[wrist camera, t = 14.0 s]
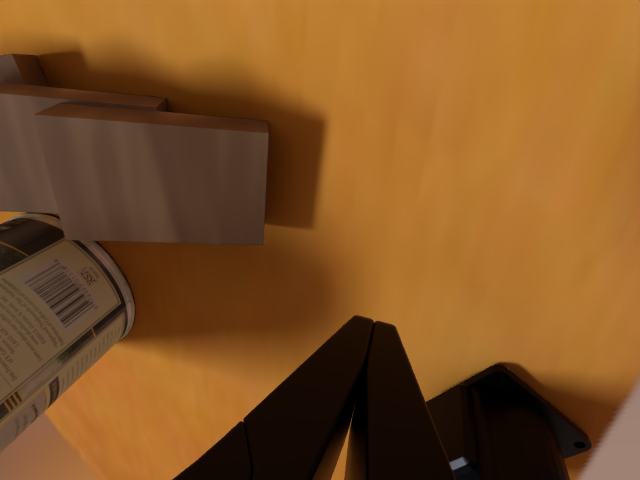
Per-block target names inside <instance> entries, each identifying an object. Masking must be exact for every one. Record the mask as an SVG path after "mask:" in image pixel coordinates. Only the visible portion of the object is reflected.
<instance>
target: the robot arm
mask: <svg viewBox="0 0 640 480" xmlns="http://www.w3.org/2000/svg"><path fill="white" fill-rule="evenodd" d="M373 325H374V326H373ZM496 375H502V376H500V377H499V376H496ZM353 411H354V412H353ZM352 415H353V416H352ZM351 419H352V421H351ZM350 423H351V426H350ZM349 426H350V432H349V440H348V449H347V459H346V469H345V478H344V480H570V478H569V474H568V471H567V468H566V464H565V461H564V459H565V458H568V457H571V456H573V455H576V454H579V453H582V452H585V451H587V450H589V449H590V448H591V442H590V439H589V437H588V435H587V434H586V433H584V432H583V431H582V430H581V429H580V428H578V427H577V426H576V425H575V424H574V423H572V422H571V421H570V420H569V419H568V418H566V417H565V416H564V415H563V414H562V413H560V412H559V411H558V410H557V409H556V408H554V407H553V406H552V405H551V404H549V403H548V402H547V401H546V400H545V399H543V398H542V397H541V396H540V395H539V394H537V393H536V392H535V391H534V390H533V389H531V388H530V387H529V386H528V385H527V384H525V383H524V382H523V381H522V380H521V379H519V378H518V377H517V376H516V375H514V374H513V373H512V372H511V371H510V370H508V369H507V368H506V367H504V366H501V365H494V366H491V367H489V368H487V369H486V370H484V371H482V372H480V373H478V374H477V375H475V376H473V377H471V378H469V379H468V380H466V381H464V382H462V383H460V384H459V385H457V386H455V387H453V388H451V389H449V390H448V391H446V392H444V393H442V394H440V395H439V396H437V397H435V398H433V399H431V400H430V401H428V402H425V400H424V397H423V395H422V392H421V390H420V387H419V385H418V382H417V379H416V377H415V374H414V372H413V369H412V367H411V364H410V362H409V359H408V357H407V354H406V352H405V349H404V347H403V344H402V342H401V339H400V337H399V334H398V332H397V329H396V327H395V326H394V325H392V324H388V323H384V322H381V321H376V322H375V323H374V321H373V320H372V319H370V318H366V317H362V316H358V315H355V316H353V317H352V318H351V319H350V320H349V321H348V322H347V323H345V324H344V325H343V326H342V327H341V328H340V329H339V330H338V331H337V332H336V333H335V334H334V335H333V336H332V337H330V338H329V339H328V340H327V341H326V342H325V343H324V344H323V345H322V346H321V347H320V348H319V349H318V350H317V351H315V352H314V353H313V354H312V355H311V356H310V357H309V358H308V359H307V360H306V361H305V362H304V363H303V364H301V365H300V366H299V367H298V368H297V369H296V370H295V371H294V372H293V373H292V374H291V375H290V376H289V377H288V378H286V379H285V380H284V381H283V382H282V383H281V384H280V385H279V386H278V387H277V388H276V389H275V390H274V391H272V392H271V393H270V394H269V395H268V396H267V397H266V398H265V399H264V400H263V401H262V402H261V403H260V404H259V405H257V406H256V407H255V408H254V409H253V410H252V411H251V412H250V413H249V414H248V415H247V416H246V417H245V418H244V419H243V422H242V421H241V422H239V423H238V424H237V425H236V426H235V427H234V428H232V429H231V430H230V431H229V432H228V433H227V434H226V435H225V436H224V437H223V438H222V439H221V440H219V441H218V442H217V443H216V444H215V445H214V446H213V447H211V448H210V449H209V450H208V451H207V452H206V453H205V454H203V455H202V456H201V457H200V458H199V459H198V460H197V461H195V462H194V463H193V464H192V465H190V466H189V467H188V468H186V469H185V470H184V471H183V472H181V473H180V474H179V475H178V476H176V477H175V478H174V479H172V480H331V478H332V475H333V472H334V469H335V467H336V464H337V461H338V458H339V456H340V453H341V450H342V447H343V445H344V442H345V439H346V436H347V433H348V430H349Z"/></svg>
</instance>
